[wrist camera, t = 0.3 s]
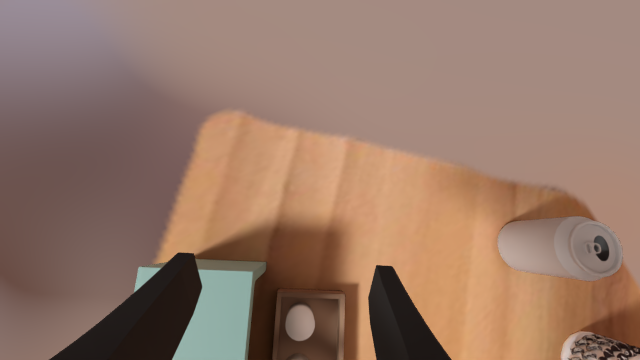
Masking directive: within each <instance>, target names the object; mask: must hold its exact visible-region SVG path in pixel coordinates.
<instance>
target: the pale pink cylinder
mask: <svg viewBox="0 0 640 360" xmlns="http://www.w3.org/2000/svg"><path fill="white" fill-rule="evenodd" d="M285 327H286V331H287V334H288V335H289V336H290V337H291V338H292V339H294V340H296V341H303V340H306V339H307V338H309V337H310V336H311V335H312V333H313V331H314V328H315V320H314V315H313V311H312V308H311V307H310V306H309V305H308V304H307V303H305V302H296V303H294V304H293V305H291V306H290V308H289V309H288V312H287V317H286V324H285Z"/></svg>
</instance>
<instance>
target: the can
mask: <svg viewBox="0 0 640 360" xmlns="http://www.w3.org/2000/svg"><path fill="white" fill-rule="evenodd" d="M498 248H499V252H500V255H501V256H502V258H503V260H504V261H505V262H506V263H507V264H508V265H509V266H510V267H512V268H514V269H515V270H517V271H523V272H529V273H536V274H543V275H550V276H557V277H564V278H570V279H577V280H584V281H595V280H600V279H601V278H603V277H607V276H611V275H612V274H614V273H616V272H617V271H618V269H619V268H620V266H621V263H622V259H623V250H622V246H621V243H620V240H619V239H618V237H617V236H616V234H615V233H614V232H613V231H612V230H611V229H610V228H609V227H608V226H606V225H604V224H602V223H601V222H597V221H593V220H591V219H589V218H586V217H581V216H572V217H560V218H548V219H536V220H524V221H514V222H510V223H508V224H507V225H505V226H504V227H503V228H502V230H501V231H500V233H499V236H498Z"/></svg>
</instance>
